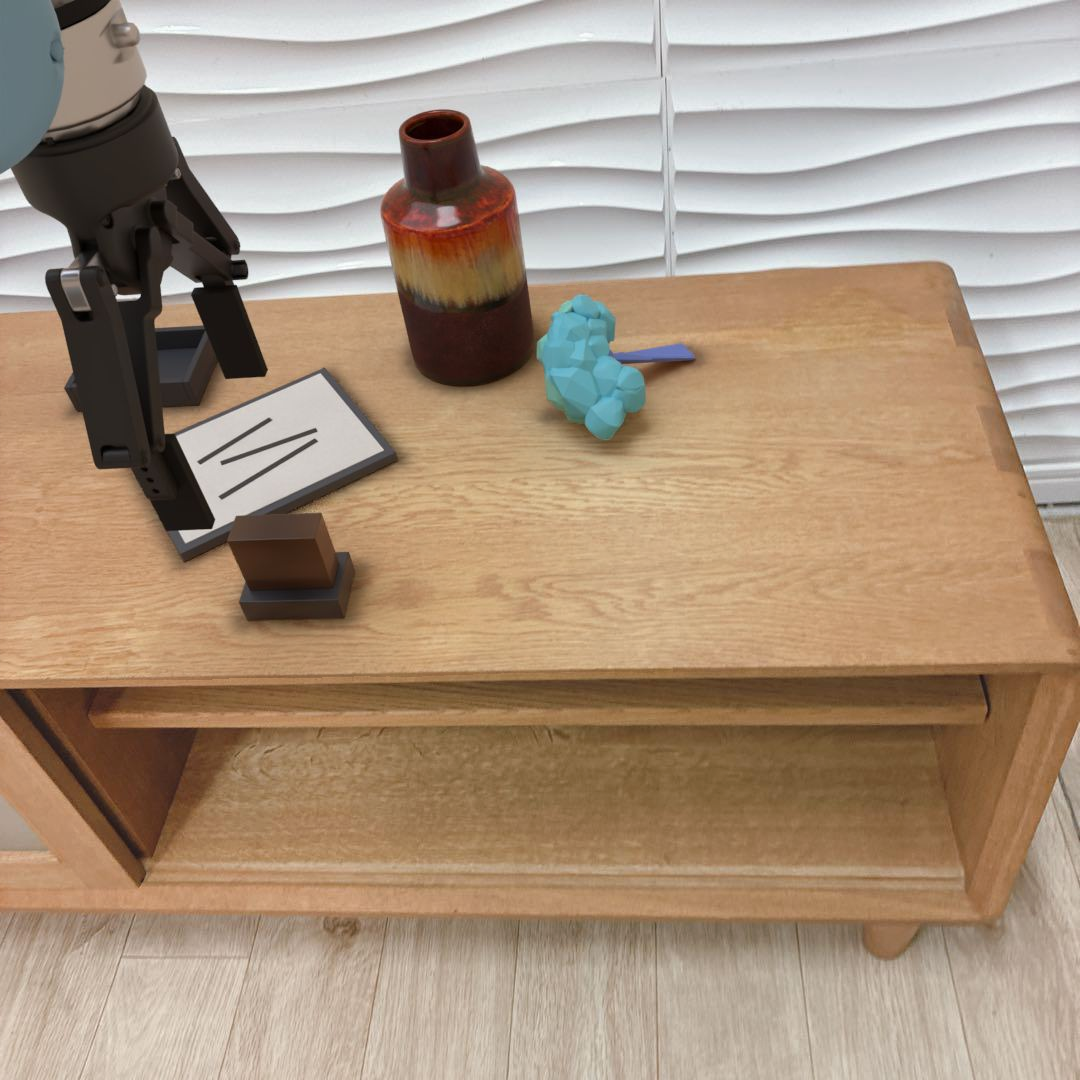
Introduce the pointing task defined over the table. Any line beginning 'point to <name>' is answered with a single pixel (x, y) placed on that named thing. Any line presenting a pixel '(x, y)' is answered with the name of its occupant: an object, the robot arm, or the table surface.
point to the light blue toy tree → (595, 367)
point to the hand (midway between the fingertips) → (220, 445)
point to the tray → (175, 366)
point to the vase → (457, 255)
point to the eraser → (290, 567)
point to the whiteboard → (277, 454)
